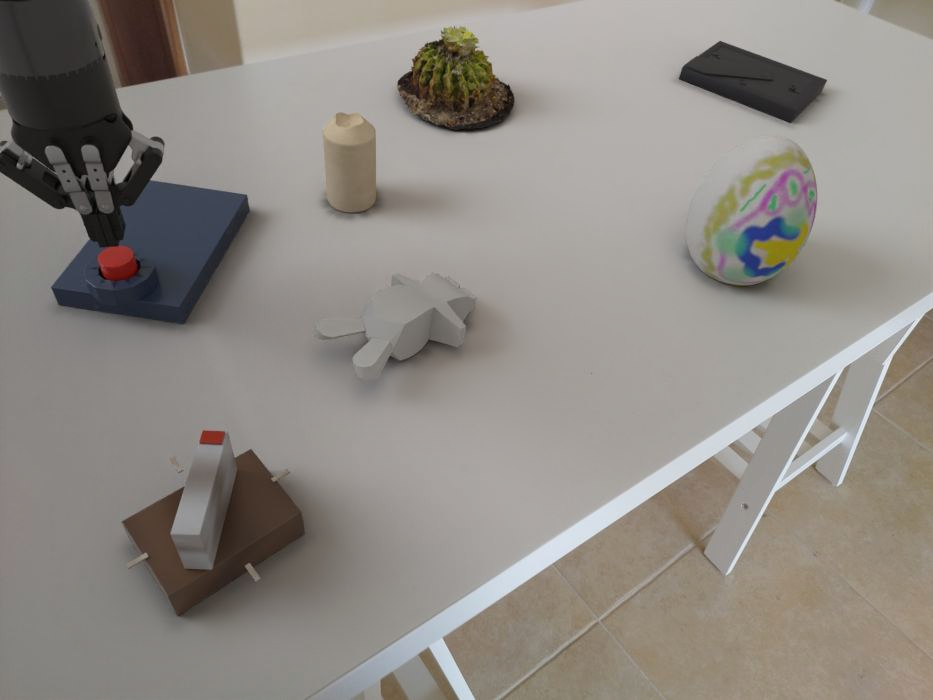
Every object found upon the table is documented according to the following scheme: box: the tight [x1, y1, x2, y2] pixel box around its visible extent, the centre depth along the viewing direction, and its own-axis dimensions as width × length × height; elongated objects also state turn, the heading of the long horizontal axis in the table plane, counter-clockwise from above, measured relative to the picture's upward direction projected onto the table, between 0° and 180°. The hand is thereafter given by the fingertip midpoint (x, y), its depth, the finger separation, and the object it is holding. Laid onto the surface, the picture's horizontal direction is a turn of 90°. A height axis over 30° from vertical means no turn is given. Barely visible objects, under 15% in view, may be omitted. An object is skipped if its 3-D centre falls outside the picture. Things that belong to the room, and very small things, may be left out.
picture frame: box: [678, 40, 828, 124], centre depth 111 cm, size 13×2×18 cm
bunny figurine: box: [312, 272, 477, 381], centre depth 67 cm, size 10×5×15 cm
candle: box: [322, 112, 377, 214], centre depth 80 cm, size 6×6×10 cm
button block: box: [50, 179, 251, 325], centre depth 73 cm, size 19×12×4 cm, turn 172°
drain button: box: [98, 246, 138, 281], centre depth 66 cm, size 3×3×2 cm
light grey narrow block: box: [170, 429, 237, 570], centre depth 50 cm, size 8×2×5 cm, turn 0°
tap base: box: [121, 448, 306, 617], centre depth 52 cm, size 12×12×3 cm
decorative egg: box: [684, 134, 818, 287], centre depth 76 cm, size 12×12×15 cm
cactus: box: [396, 25, 515, 131], centre depth 98 cm, size 17×16×10 cm
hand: (111, 241), depth 64 cm, fingers closed
